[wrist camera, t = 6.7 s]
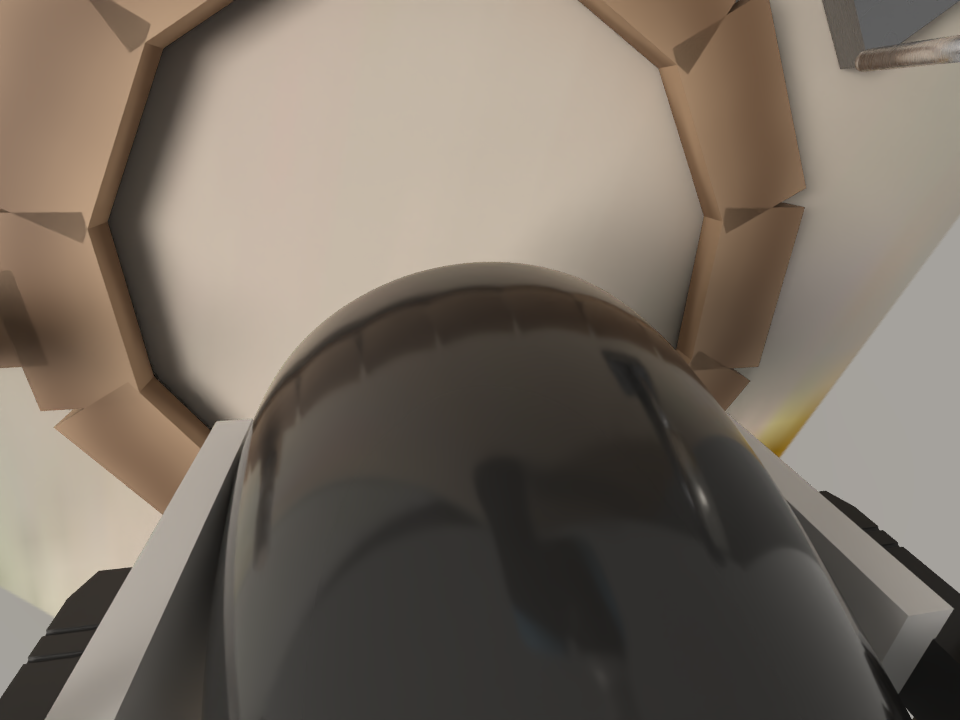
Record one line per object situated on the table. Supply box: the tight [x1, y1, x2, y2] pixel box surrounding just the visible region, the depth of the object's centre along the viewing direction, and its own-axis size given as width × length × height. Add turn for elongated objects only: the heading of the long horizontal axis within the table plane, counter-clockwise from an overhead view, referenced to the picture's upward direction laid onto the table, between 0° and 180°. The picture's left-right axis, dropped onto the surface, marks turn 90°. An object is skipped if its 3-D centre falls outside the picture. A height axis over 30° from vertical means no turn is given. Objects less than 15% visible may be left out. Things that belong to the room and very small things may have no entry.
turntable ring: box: [0, 0, 806, 514], centre depth 19 cm, size 34×38×8 cm
